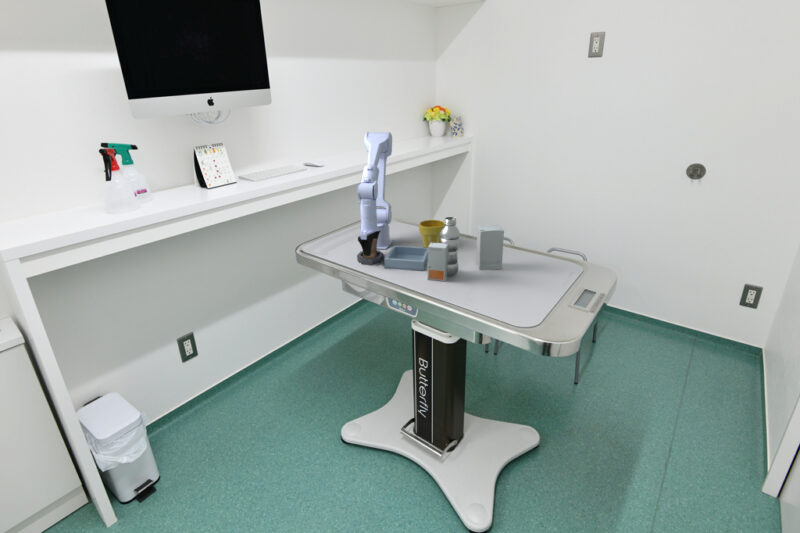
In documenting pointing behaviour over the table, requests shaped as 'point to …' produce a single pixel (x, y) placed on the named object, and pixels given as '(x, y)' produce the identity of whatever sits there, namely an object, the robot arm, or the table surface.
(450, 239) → the silver metal bottle
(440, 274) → the skincare box
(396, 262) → the bin
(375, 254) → the peg
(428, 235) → the plant pot
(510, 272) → the table surface
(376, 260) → the collar
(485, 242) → the skincare box
